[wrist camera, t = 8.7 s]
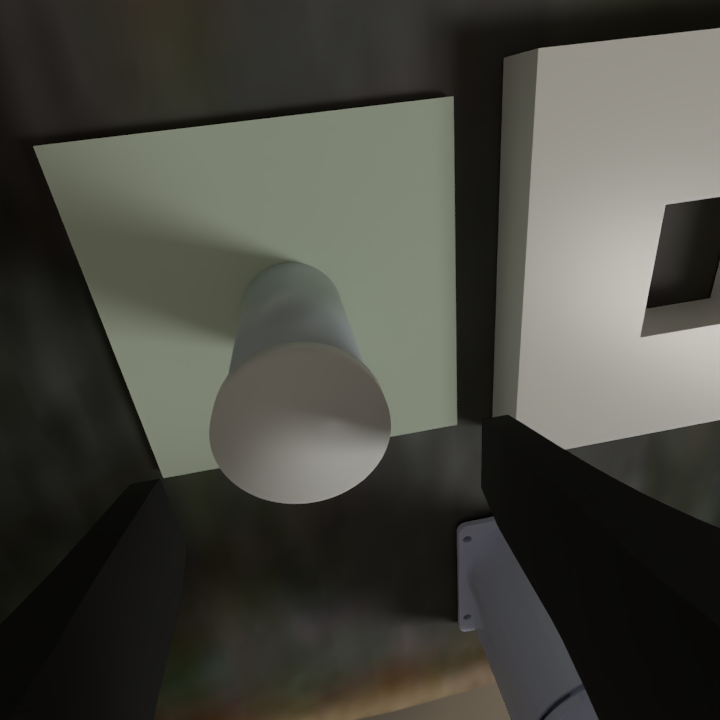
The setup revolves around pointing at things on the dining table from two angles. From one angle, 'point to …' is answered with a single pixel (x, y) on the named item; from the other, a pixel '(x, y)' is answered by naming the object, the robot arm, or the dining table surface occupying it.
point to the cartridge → (297, 394)
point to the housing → (604, 237)
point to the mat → (267, 251)
